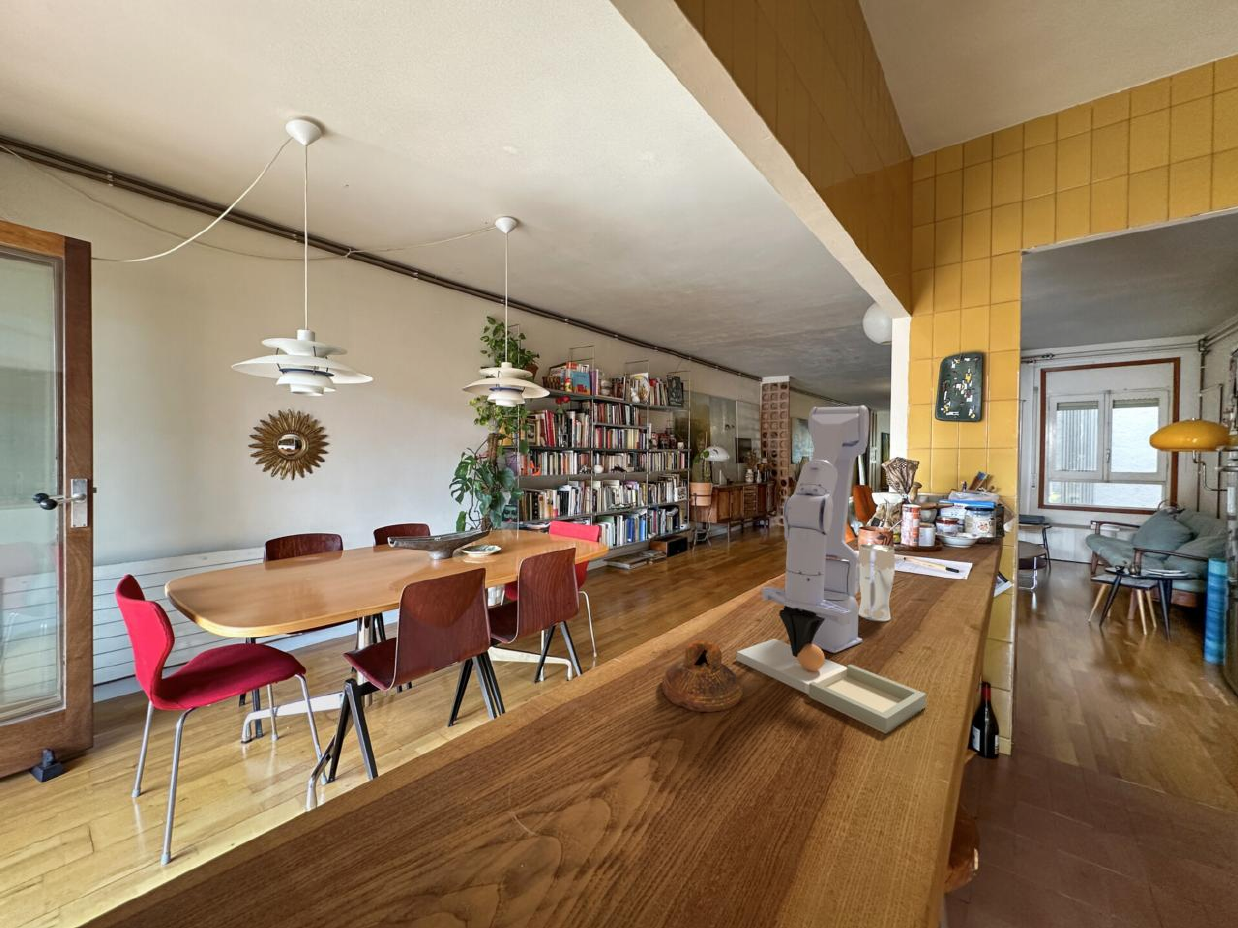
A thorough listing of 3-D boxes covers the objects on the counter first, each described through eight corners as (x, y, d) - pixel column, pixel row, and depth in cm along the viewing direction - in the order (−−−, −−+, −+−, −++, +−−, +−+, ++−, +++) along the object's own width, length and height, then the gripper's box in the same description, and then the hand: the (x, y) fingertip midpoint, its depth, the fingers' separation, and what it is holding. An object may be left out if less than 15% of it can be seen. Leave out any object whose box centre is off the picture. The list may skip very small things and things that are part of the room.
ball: (823, 638, 78) (834, 665, 75) (806, 647, 80) (817, 673, 78) (804, 640, 76) (814, 667, 74) (788, 649, 79) (798, 675, 76)
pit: (850, 676, 78) (850, 664, 78) (925, 707, 69) (926, 693, 69) (808, 696, 72) (809, 683, 72) (885, 733, 63) (886, 718, 63)
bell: (757, 692, 73) (758, 644, 73) (711, 724, 65) (712, 670, 64) (693, 666, 81) (693, 623, 81) (644, 692, 73) (645, 643, 72)
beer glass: (899, 622, 102) (902, 550, 101) (865, 622, 102) (868, 550, 101) (882, 611, 109) (884, 543, 108) (850, 610, 109) (852, 543, 108)
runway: (774, 646, 89) (774, 638, 89) (848, 677, 78) (848, 668, 78) (736, 660, 83) (736, 651, 83) (810, 695, 72) (811, 685, 72)
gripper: (751, 563, 81) (748, 645, 82) (833, 585, 69) (828, 680, 70) (778, 559, 85) (775, 637, 86) (860, 579, 73) (855, 669, 74)
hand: (801, 656), depth 78 cm, fingers closed, pressing on ball
